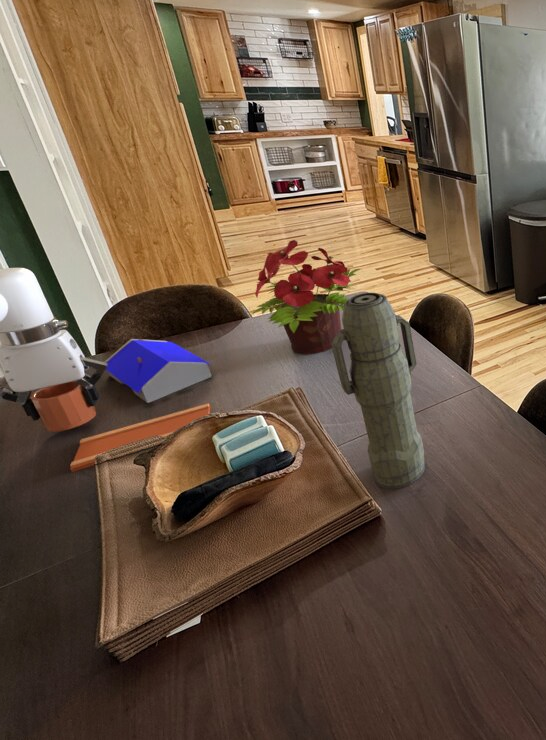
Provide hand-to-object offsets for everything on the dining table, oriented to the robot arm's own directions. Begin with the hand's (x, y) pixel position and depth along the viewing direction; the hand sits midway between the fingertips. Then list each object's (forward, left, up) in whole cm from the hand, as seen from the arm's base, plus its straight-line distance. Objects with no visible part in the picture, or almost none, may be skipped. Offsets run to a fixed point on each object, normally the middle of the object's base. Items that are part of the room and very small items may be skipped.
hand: (66, 409), depth 97 cm
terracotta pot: (0, 0, -3) cm, 3 cm away
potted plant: (+46, +8, -5) cm, 47 cm away
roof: (+12, +14, -5) cm, 20 cm away
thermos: (+51, -53, -5) cm, 74 cm away
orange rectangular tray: (+12, -13, -4) cm, 18 cm away
